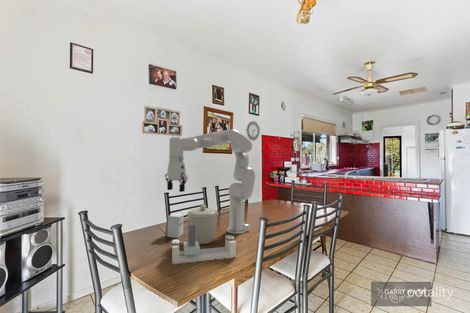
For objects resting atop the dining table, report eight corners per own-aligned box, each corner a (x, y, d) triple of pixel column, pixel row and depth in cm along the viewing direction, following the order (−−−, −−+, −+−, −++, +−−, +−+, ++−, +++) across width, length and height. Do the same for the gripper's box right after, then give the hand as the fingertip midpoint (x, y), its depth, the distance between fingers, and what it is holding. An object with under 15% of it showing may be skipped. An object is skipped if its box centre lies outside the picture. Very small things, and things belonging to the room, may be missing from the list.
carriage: (197, 246, 118) (198, 220, 118) (199, 253, 109) (200, 226, 109) (183, 247, 116) (184, 221, 116) (184, 255, 107) (185, 227, 107)
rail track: (232, 249, 123) (232, 233, 123) (237, 257, 113) (237, 240, 113) (170, 255, 115) (170, 238, 115) (170, 264, 105) (170, 246, 105)
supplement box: (178, 238, 138) (178, 217, 138) (167, 237, 140) (167, 216, 140) (183, 234, 145) (183, 213, 145) (172, 233, 147) (173, 213, 147)
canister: (224, 241, 134) (225, 205, 134) (199, 250, 121) (199, 210, 121) (205, 233, 147) (205, 200, 147) (180, 240, 134) (181, 204, 134)
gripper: (192, 160, 126) (192, 191, 127) (171, 159, 136) (170, 188, 136) (182, 160, 120) (181, 193, 120) (160, 159, 130) (160, 189, 130)
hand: (175, 190), depth 128 cm, fingers open, 9 cm apart
